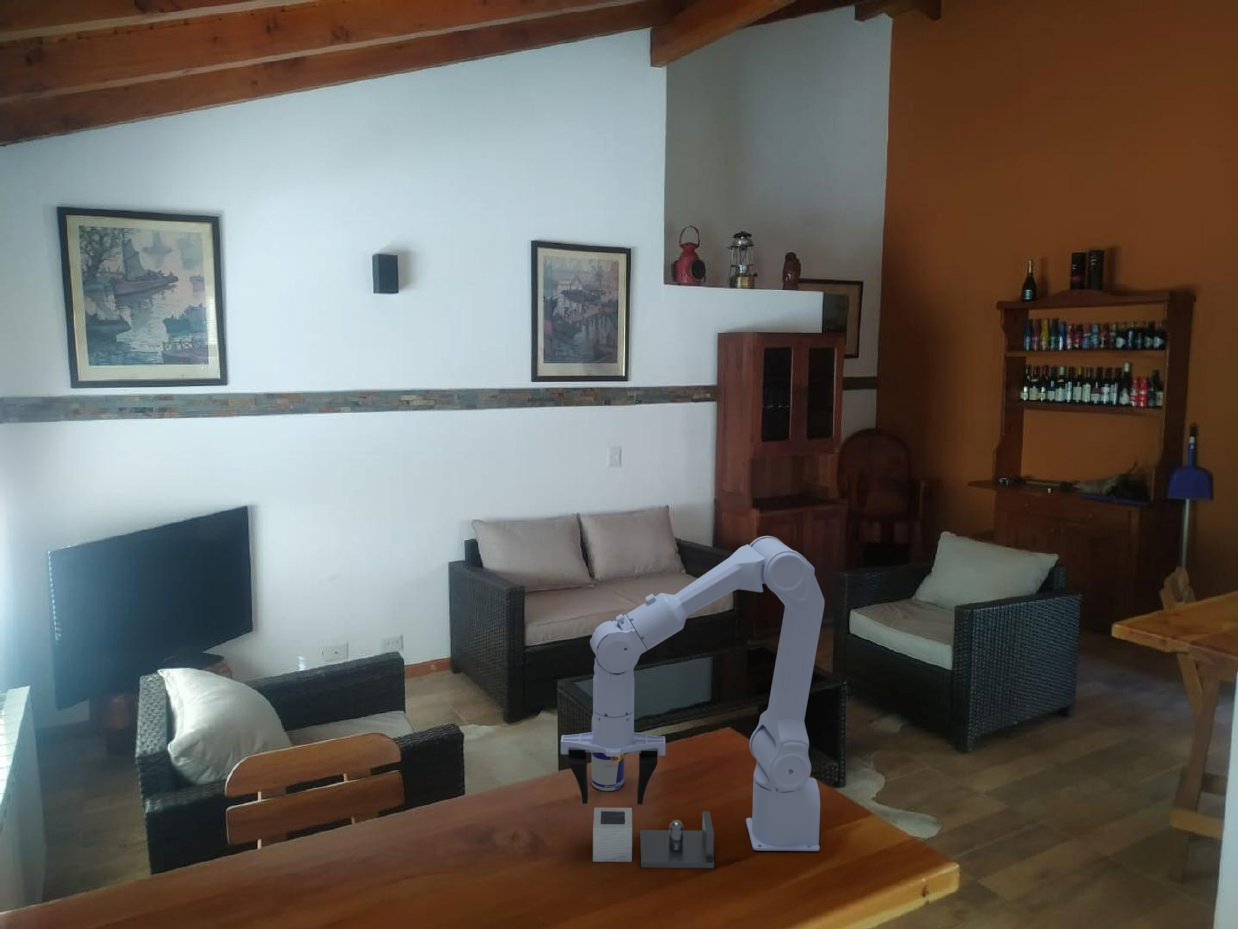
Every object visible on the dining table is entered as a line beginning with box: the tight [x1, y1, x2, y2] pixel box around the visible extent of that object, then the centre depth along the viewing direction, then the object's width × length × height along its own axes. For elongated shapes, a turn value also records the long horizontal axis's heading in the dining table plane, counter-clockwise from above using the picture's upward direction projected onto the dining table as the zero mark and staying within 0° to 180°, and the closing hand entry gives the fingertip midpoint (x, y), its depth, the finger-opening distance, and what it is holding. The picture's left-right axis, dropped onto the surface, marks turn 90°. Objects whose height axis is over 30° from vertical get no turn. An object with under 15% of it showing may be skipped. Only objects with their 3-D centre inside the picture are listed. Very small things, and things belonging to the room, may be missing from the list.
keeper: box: [639, 810, 715, 869], centre depth 126 cm, size 10×8×5 cm
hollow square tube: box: [592, 807, 633, 863], centre depth 126 cm, size 5×5×5 cm
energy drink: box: [590, 715, 625, 792], centre depth 144 cm, size 5×5×12 cm
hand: (612, 800), depth 125 cm, fingers open, 7 cm apart
